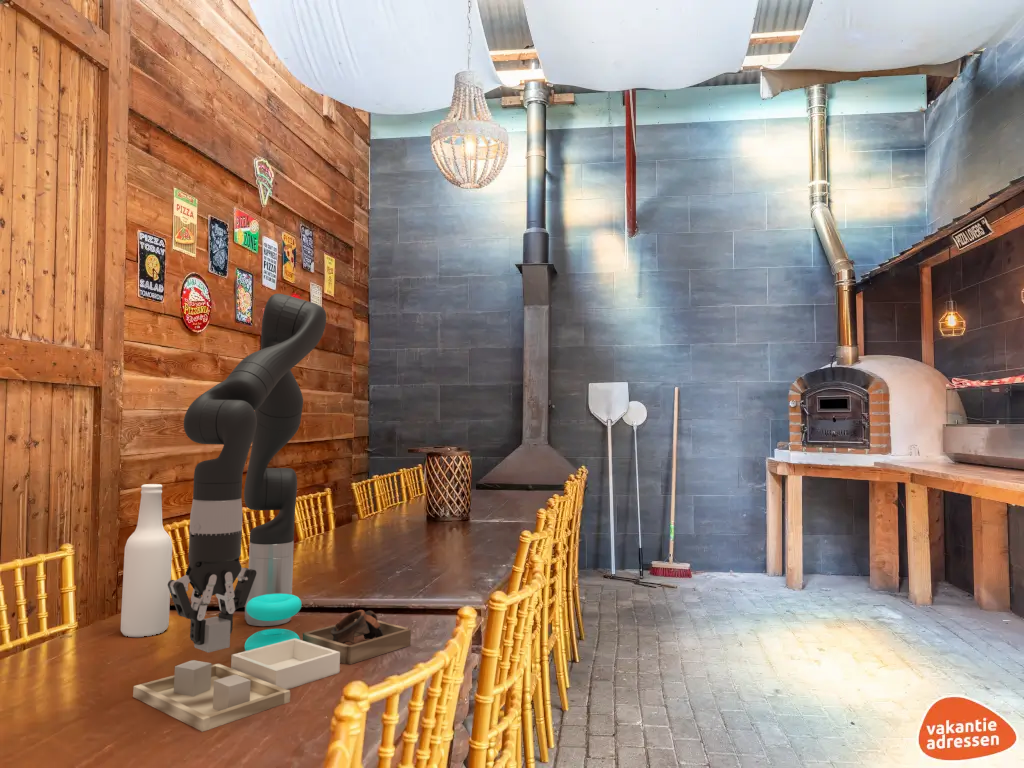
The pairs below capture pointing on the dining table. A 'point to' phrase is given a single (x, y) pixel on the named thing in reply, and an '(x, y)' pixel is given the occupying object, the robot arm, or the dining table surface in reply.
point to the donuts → (272, 618)
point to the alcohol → (147, 570)
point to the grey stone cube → (192, 678)
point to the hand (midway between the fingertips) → (211, 640)
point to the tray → (209, 700)
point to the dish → (288, 663)
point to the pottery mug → (357, 627)
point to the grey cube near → (230, 692)
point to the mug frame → (361, 651)
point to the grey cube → (215, 634)
